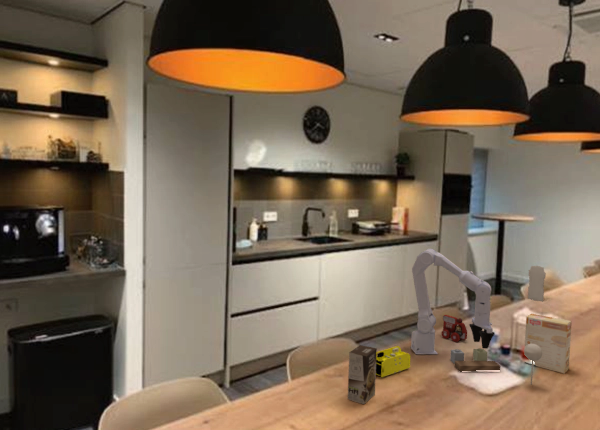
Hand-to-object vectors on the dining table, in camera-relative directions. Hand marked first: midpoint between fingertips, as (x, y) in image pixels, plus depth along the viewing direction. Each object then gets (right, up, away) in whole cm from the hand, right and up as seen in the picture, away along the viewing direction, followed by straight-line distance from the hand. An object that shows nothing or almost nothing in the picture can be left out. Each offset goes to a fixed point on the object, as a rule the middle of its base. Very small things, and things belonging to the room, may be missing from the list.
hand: (480, 344), depth 187 cm
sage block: (0, -7, 0) cm, 7 cm away
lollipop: (+10, -9, -21) cm, 25 cm away
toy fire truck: (-2, -5, +27) cm, 28 cm away
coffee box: (-53, -8, -34) cm, 64 cm away
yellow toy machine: (-39, -7, -12) cm, 42 cm away
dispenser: (+77, -2, +107) cm, 132 cm away
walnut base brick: (-5, -7, -8) cm, 12 cm away
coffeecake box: (+25, -8, -3) cm, 26 cm away
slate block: (-10, -7, -1) cm, 12 cm away
